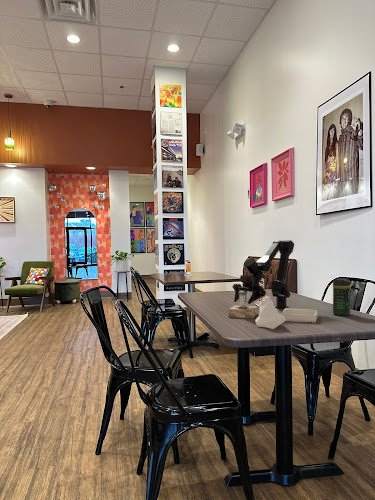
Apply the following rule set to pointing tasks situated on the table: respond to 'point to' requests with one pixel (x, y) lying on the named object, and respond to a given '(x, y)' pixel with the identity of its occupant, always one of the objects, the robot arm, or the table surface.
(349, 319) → the table surface
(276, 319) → the white tetrapod block
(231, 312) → the block
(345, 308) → the coffee jar
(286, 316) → the tray
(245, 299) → the steel pin
